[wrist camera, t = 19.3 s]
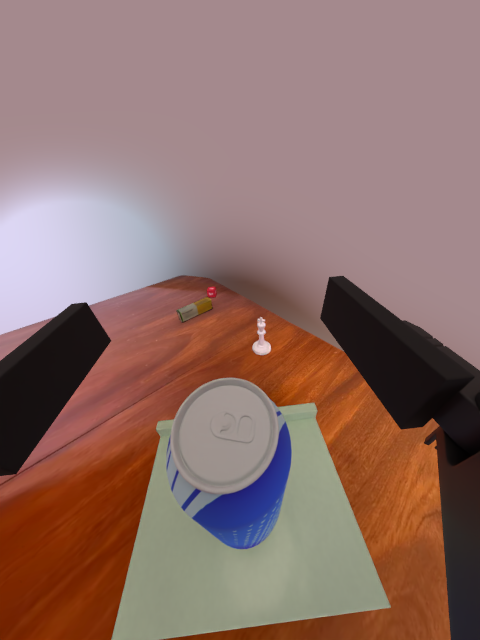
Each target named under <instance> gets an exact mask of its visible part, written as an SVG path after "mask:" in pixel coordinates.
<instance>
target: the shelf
mask: <svg viewBox="0 0 480 640" xmlns="http://www.w3.org/2000/svg"><path fill="white" fill-rule="evenodd" d="M278 409H279V410H280V412H281V413H282V415H283V417H284V419H285V421H286V424H287V427H288V430H289V434H290V439H291V449H292V457H291V466H290V471H289V476H288V480H287V484H286V488H285V492H284V497H283V501H282V505H281V509H280V513H279V517H278V520H277V522H276V524H275V526H274V528H273V530H272V531H271V533H270V534H269V535H268V537H267V538H266V539H265V540H264V541H262V542H261V543H260V544H258V545H256V546H254V547H252V548H248V549H235V548H232V547H229V546H227V545H225V544H224V543H222V542H221V541H220V540H219V539H217V538H216V537H215V536H214V535H212V534H211V533H210V532H208V531H207V530H206V529H205V528H203V527H202V526H201V525H200V524H198V523H197V522H196V521H194V520H193V519H192V518H191V517H189V516H188V515H187V514H186V513H185V512H184V511H183V509H182V508H181V507H180V506H179V504H178V502H177V501H176V499H175V497H174V495H173V493H172V491H171V488H170V485H169V481H168V477H167V469H166V455H167V447H168V442H169V438H170V435H171V429H172V425H173V422H174V419H173V420H165V421H158V424H157V428H156V431H157V432H158V434H159V435H160V436H161V437H160V441H159V445H158V450H157V454H156V458H155V462H154V466H153V470H152V474H151V478H150V483H149V487H148V491H147V495H146V499H145V503H144V507H143V512H142V516H141V520H140V524H139V528H138V532H137V536H136V541H135V545H134V549H133V553H132V557H131V561H130V565H129V570H128V574H127V578H126V582H125V586H124V590H123V594H122V598H121V603H120V607H119V611H118V615H117V619H116V623H115V627H114V632H113V636H112V640H160V639H167V638H175V637H182V636H189V635H196V634H203V633H211V632H218V631H225V630H232V629H239V628H247V627H254V626H261V625H268V624H275V623H283V622H290V621H297V620H304V619H311V618H319V617H326V616H333V615H340V614H347V613H355V612H362V611H369V610H376V609H383V608H390V607H391V606H390V604H389V601H388V599H387V596H386V594H385V591H384V589H383V586H382V584H381V581H380V579H379V576H378V574H377V571H376V569H375V566H374V564H373V561H372V559H371V556H370V554H369V551H368V549H367V546H366V544H365V541H364V539H363V536H362V534H361V531H360V529H359V526H358V524H357V521H356V519H355V516H354V514H353V511H352V509H351V506H350V504H349V501H348V499H347V496H346V494H345V491H344V489H343V486H342V484H341V481H340V479H339V476H338V474H337V471H336V469H335V466H334V464H333V461H332V459H331V456H330V454H329V451H328V449H327V446H326V444H325V441H324V439H323V436H322V434H321V431H320V429H319V426H318V424H317V421H316V419H315V417H316V414H317V408H316V406H315V404H314V403H308V404H299V405H291V406H283V407H278Z"/></svg>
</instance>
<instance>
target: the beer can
mask: <svg viewBox="0 0 480 640" xmlns="http://www.w3.org/2000/svg"><path fill="white" fill-rule="evenodd" d="M291 457H292V449H291V439H290V434H289V430H288V427H287V424H286V421H285V419H284V417H283V415H282V413H281V412H280V410H279V409H278V407H277V406H276V405H275V404H274V403H273V402H272V400H271V399H269V397H268V396H267V395H266V394H265V393H264V392H263V391H262V390H261V389H260V388H259V387H258V386H256V385H255V384H253V383H251V382H249V381H246V380H243V379H239V378H221V379H217V380H213V381H210V382H208V383H206V384H204V385H202V386H201V387H199V388H198V389H196V390H195V391H194V392H192V393H191V394H190V395H189V396H188V397H187V399H186V400H185V401H184V402H183V404H182V405H181V407H180V408H179V410H178V412H177V414H176V416H175V419H174V422H173V425H172V429H171V435H170V438H169V442H168V447H167V455H166V469H167V477H168V481H169V485H170V488H171V491H172V493H173V495H174V497H175V499H176V501H177V502H178V504H179V506H180V507H181V508H182V509H183V511H184V512H185V513H186V514H187V515H188V516H189V517H191V518H192V519H193V520H194V521H196V522H197V523H198V524H200V525H201V526H202V527H203V528H205V529H206V530H207V531H208V532H210V533H211V534H212V535H214V536H215V537H216V538H217V539H219V540H220V541H221V542H222V543H224V544H225V545H227V546H229V547H232V548H235V549H248V548H252V547H254V546H256V545H258V544H260V543H261V542H262V541H264V540H265V539H266V538H267V537H268V535H269V534H270V533H271V531H272V530H273V528H274V526H275V524H276V522H277V520H278V517H279V513H280V509H281V505H282V501H283V497H284V492H285V488H286V484H287V480H288V476H289V471H290V466H291Z"/></svg>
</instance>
